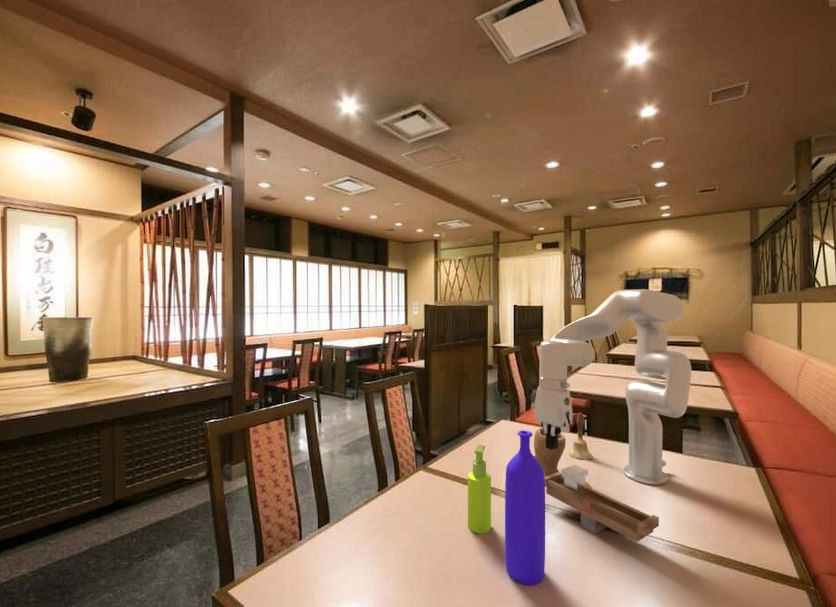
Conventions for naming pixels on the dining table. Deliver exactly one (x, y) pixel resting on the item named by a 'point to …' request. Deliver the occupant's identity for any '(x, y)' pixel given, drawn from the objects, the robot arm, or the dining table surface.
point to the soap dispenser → (479, 495)
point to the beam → (602, 510)
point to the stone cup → (548, 452)
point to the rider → (575, 478)
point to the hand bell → (580, 442)
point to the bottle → (525, 516)
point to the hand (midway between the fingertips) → (551, 447)
